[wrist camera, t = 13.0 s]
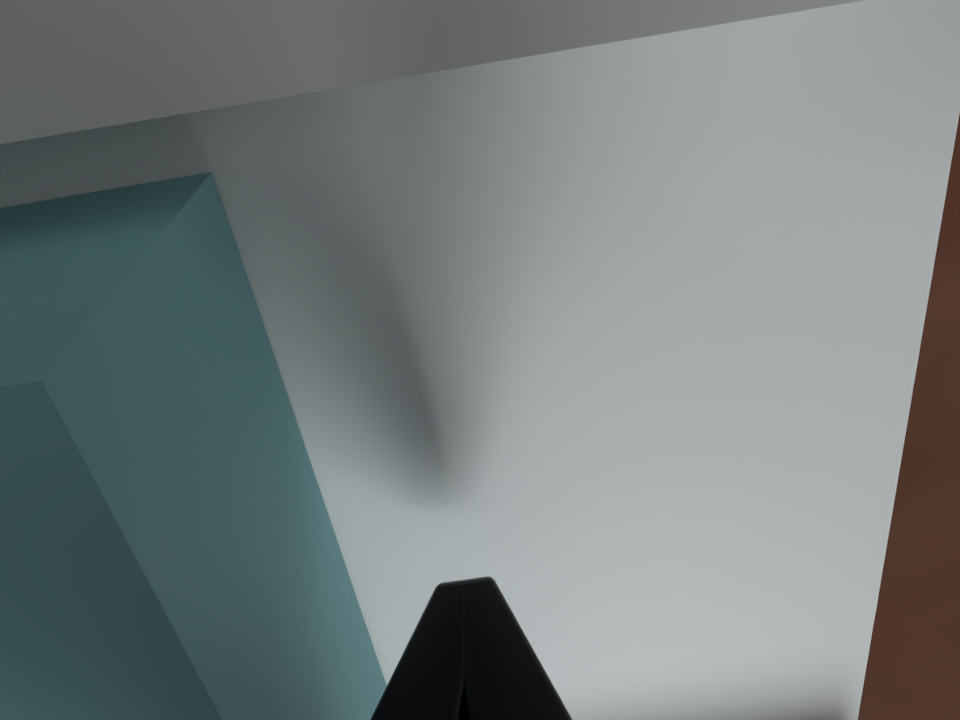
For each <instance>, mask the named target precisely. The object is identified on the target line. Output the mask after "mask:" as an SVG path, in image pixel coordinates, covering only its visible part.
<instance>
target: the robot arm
mask: <svg viewBox="0 0 960 720" xmlns="http://www.w3.org/2000/svg"><path fill="white" fill-rule="evenodd" d="M370 720H572V718H571V716H570V714H569V713H568V711H567V709H566V707H565V705H564V704H563V702H562V700H561V698H560V696H559V695H558V693H557V691H556V689H555V687H554V686H553V684H552V682H551V680H550V678H549V677H548V675H547V673H546V671H545V669H544V668H543V666H542V664H541V662H540V660H539V659H538V657H537V655H536V653H535V652H534V650H533V648H532V646H531V644H530V643H529V641H528V639H527V637H526V635H525V634H524V632H523V630H522V628H521V626H520V625H519V623H518V621H517V619H516V617H515V616H514V614H513V612H512V610H511V608H510V607H509V605H508V603H507V601H506V599H505V598H504V596H503V594H502V592H501V590H500V589H499V587H498V585H497V583H496V582H495V580H494V579H493V578H492V577H490V576H487V577H479V578H472V579H465V580H458V581H450V582H443V583H440V584H438V585H437V586H436V588H435V590H434V591H433V593H432V595H431V597H430V599H429V601H428V604H427V606H426V608H425V610H424V612H423V614H422V616H421V618H420V620H419V622H418V624H417V626H416V628H415V630H414V632H413V634H412V636H411V638H410V640H409V642H408V644H407V646H406V648H405V650H404V652H403V654H402V656H401V658H400V660H399V662H398V664H397V666H396V668H395V670H394V673H393V675H392V677H391V679H390V681H389V683H388V685H387V687H386V689H385V691H384V693H383V695H382V697H381V699H380V701H379V703H378V705H377V707H376V709H375V711H374V713H373V715H372V717H371V719H370Z"/></svg>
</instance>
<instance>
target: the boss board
mask: <svg viewBox="0 0 960 720" xmlns="http://www.w3.org/2000/svg"><path fill="white" fill-rule="evenodd" d="M959 113H960V0H0V208H4V207H10V206H16V205H22V204H28V203H34V202H39V201H45V200H51V199H57V198H63V197H69V196H75V195H81V194H86V193H92V192H98V191H104V190H110V189H116V188H122V187H128V186H134V185H139V184H145V183H151V182H157V181H163V180H169V179H175V178H181V177H186V176H192V175H198V174H204V173H210V172H212V174H213V177H214V180H215V183H216V186H217V189H218V192H219V195H220V197H221V200H222V203H223V206H224V209H225V212H226V215H227V218H228V221H229V224H230V227H231V230H232V233H233V236H234V239H235V242H236V245H237V247H238V250H239V253H240V256H241V259H242V262H243V265H244V268H245V271H246V274H247V277H248V280H249V283H250V286H251V289H252V292H253V294H254V297H255V300H256V303H257V306H258V309H259V312H260V315H261V318H262V321H263V324H264V327H265V330H266V333H267V336H268V339H269V341H270V344H271V347H272V350H273V353H274V356H275V359H276V362H277V365H278V368H279V371H280V374H281V377H282V380H283V383H284V386H285V389H286V391H287V394H288V397H289V400H290V403H291V406H292V409H293V412H294V415H295V418H296V421H297V424H298V427H299V430H300V433H301V436H302V438H303V441H304V444H305V447H306V450H307V453H308V456H309V459H310V462H311V465H312V468H313V471H314V474H315V477H316V480H317V483H318V486H319V488H320V491H321V494H322V497H323V500H324V503H325V506H326V509H327V512H328V515H329V518H330V521H331V524H332V527H333V530H334V533H335V535H336V538H337V541H338V544H339V547H340V550H341V553H342V556H343V559H344V562H345V565H346V568H347V571H348V574H349V577H350V580H351V582H352V585H353V588H354V591H355V594H356V597H357V600H358V603H359V606H360V609H361V612H362V615H363V618H364V621H365V624H366V627H367V630H368V632H369V635H370V638H371V641H372V644H373V647H374V650H375V653H376V656H377V659H378V662H379V665H380V668H381V671H382V674H383V677H384V679H385V682H386V685H388V683H389V681H390V679H391V677H392V675H393V673H394V670H395V668H396V666H397V664H398V662H399V660H400V658H401V656H402V654H403V652H404V650H405V648H406V646H407V644H408V642H409V640H410V638H411V636H412V634H413V632H414V630H415V628H416V626H417V624H418V622H419V620H420V618H421V616H422V614H423V612H424V610H425V608H426V606H427V604H428V601H429V599H430V597H431V595H432V593H433V591H434V590H435V588H436V586H437V585H438V584H440V583H443V582H450V581H458V580H465V579H472V578H479V577H487V576H490V577H492V578H493V579H494V580H495V582H496V583H497V585H498V587H499V589H500V590H501V592H502V594H503V596H504V598H505V599H506V601H507V603H508V605H509V607H510V608H511V610H512V612H513V614H514V616H515V617H516V619H517V621H518V623H519V625H520V626H521V628H522V630H523V632H524V634H525V635H526V637H527V639H528V641H529V643H530V644H531V646H532V648H533V650H534V652H535V653H536V655H537V657H538V659H539V660H540V662H541V664H542V666H543V668H544V669H545V671H546V673H547V675H548V677H549V678H550V680H551V682H552V684H553V686H554V687H555V689H556V691H557V693H558V695H559V696H560V698H561V700H562V702H563V704H564V705H565V707H566V709H567V711H568V713H569V714H570V716H571V718H572V720H858V714H859V708H860V702H861V696H862V690H863V684H864V678H865V672H866V666H867V660H868V654H869V648H870V642H871V636H872V630H873V624H874V619H875V613H876V607H877V601H878V595H879V589H880V583H881V577H882V571H883V565H884V559H885V553H886V547H887V541H888V535H889V529H890V523H891V517H892V511H893V505H894V500H895V494H896V488H897V482H898V476H899V470H900V464H901V458H902V452H903V446H904V440H905V434H906V428H907V422H908V416H909V410H910V404H911V398H912V392H913V386H914V381H915V375H916V369H917V363H918V357H919V351H920V345H921V339H922V333H923V327H924V321H925V315H926V309H927V303H928V297H929V291H930V285H931V279H932V273H933V267H934V262H935V256H936V250H937V244H938V238H939V232H940V226H941V220H942V214H943V208H944V202H945V196H946V190H947V184H948V178H949V172H950V166H951V160H952V154H953V149H954V143H955V137H956V131H957V125H958V119H959Z"/></svg>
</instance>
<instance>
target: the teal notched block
mask: <svg viewBox="0 0 960 720" xmlns="http://www.w3.org/2000/svg"><path fill="white" fill-rule="evenodd" d="M386 687H387V685H386V682H385V679H384V677H383V674H382V671H381V668H380V665H379V662H378V659H377V656H376V653H375V650H374V647H373V644H372V641H371V638H370V635H369V632H368V630H367V627H366V624H365V621H364V618H363V615H362V612H361V609H360V606H359V603H358V600H357V597H356V594H355V591H354V588H353V585H352V582H351V580H350V577H349V574H348V571H347V568H346V565H345V562H344V559H343V556H342V553H341V550H340V547H339V544H338V541H337V538H336V535H335V533H334V530H333V527H332V524H331V521H330V518H329V515H328V512H327V509H326V506H325V503H324V500H323V497H322V494H321V491H320V488H319V486H318V483H317V480H316V477H315V474H314V471H313V468H312V465H311V462H310V459H309V456H308V453H307V450H306V447H305V444H304V441H303V438H302V436H301V433H300V430H299V427H298V424H297V421H296V418H295V415H294V412H293V409H292V406H291V403H290V400H289V397H288V394H287V391H286V389H285V386H284V383H283V380H282V377H281V374H280V371H279V368H278V365H277V362H276V359H275V356H274V353H273V350H272V347H271V344H270V341H269V339H268V336H267V333H266V330H265V327H264V324H263V321H262V318H261V315H260V312H259V309H258V306H257V303H256V300H255V297H254V294H253V292H252V289H251V286H250V283H249V280H248V277H247V274H246V271H245V268H244V265H243V262H242V259H241V256H240V253H239V250H238V247H237V245H236V242H235V239H234V236H233V233H232V230H231V227H230V224H229V221H228V218H227V215H226V212H225V209H224V206H223V203H222V200H221V197H220V195H219V192H218V189H217V186H216V183H215V180H214V177H213V174H212V172H210V173H204V174H198V175H192V176H186V177H181V178H175V179H169V180H163V181H157V182H151V183H145V184H139V185H134V186H128V187H122V188H116V189H110V190H104V191H98V192H92V193H86V194H81V195H75V196H69V197H63V198H57V199H51V200H45V201H39V202H34V203H28V204H22V205H16V206H10V207H4V208H0V720H370V719H371V717H372V715H373V713H374V711H375V709H376V707H377V705H378V703H379V701H380V699H381V697H382V695H383V693H384V691H385V689H386Z"/></svg>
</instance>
